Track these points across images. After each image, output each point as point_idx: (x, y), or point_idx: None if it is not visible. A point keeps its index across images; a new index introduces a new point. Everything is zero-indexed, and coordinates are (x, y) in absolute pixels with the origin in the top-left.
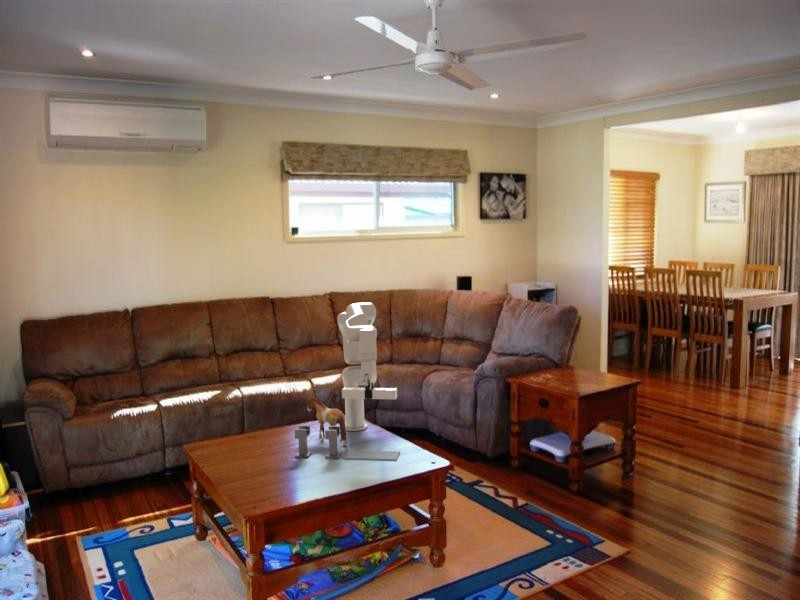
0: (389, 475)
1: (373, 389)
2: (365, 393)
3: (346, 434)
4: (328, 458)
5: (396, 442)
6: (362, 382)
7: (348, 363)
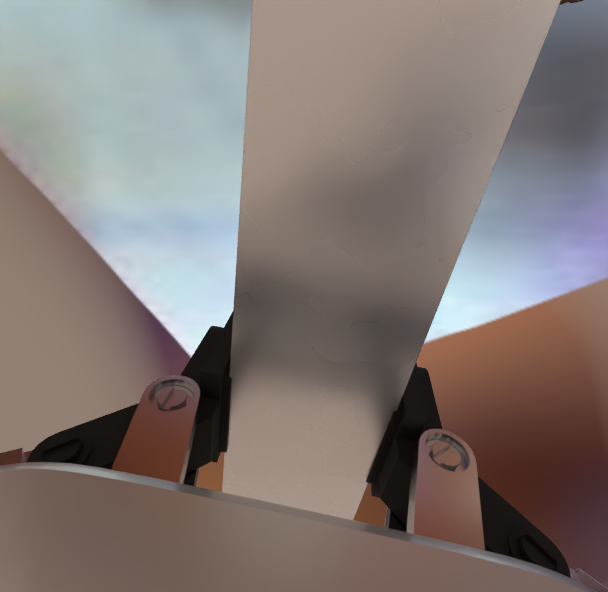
0: (131, 248)
1: (257, 474)
2: (222, 341)
3: (571, 2)
4: None
5: (507, 286)
6: (98, 483)
7: None
